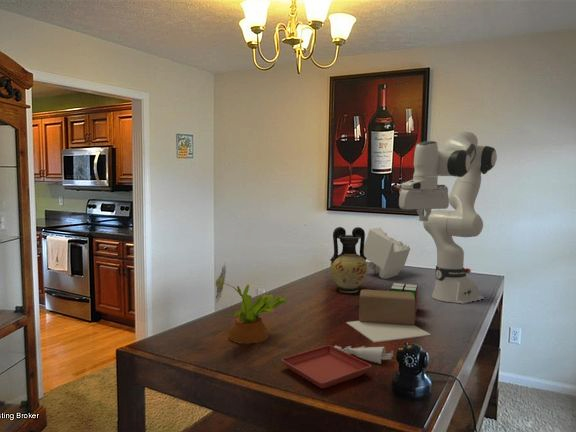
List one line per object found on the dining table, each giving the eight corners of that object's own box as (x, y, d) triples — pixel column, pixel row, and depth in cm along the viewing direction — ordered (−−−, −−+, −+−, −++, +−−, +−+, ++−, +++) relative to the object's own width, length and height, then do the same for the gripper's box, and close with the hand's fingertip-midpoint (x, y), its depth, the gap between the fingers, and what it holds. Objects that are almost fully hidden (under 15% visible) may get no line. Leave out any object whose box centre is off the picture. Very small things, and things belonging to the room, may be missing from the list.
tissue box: (378, 265, 259) (392, 225, 250) (400, 279, 248) (415, 238, 240) (355, 270, 245) (369, 228, 237) (378, 285, 235) (393, 242, 226)
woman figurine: (387, 355, 126) (326, 349, 133) (388, 371, 126) (327, 363, 134) (395, 341, 136) (338, 336, 144) (396, 356, 137) (339, 350, 144)
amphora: (356, 285, 223) (358, 224, 221) (373, 293, 207) (375, 228, 205) (323, 287, 218) (325, 225, 215) (338, 296, 202) (340, 229, 199)
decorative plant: (222, 323, 164) (222, 255, 161) (288, 325, 163) (289, 256, 161) (206, 353, 137) (206, 271, 134) (286, 355, 136) (287, 273, 134)
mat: (398, 317, 173) (398, 316, 173) (430, 335, 154) (431, 334, 154) (346, 323, 166) (346, 322, 166) (374, 342, 147) (374, 341, 147)
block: (416, 299, 161) (359, 295, 165) (415, 326, 162) (358, 322, 166) (413, 291, 171) (360, 288, 175) (412, 317, 172) (359, 313, 176)
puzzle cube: (417, 308, 185) (418, 284, 184) (415, 316, 176) (416, 290, 175) (392, 306, 188) (392, 282, 187) (389, 313, 179) (390, 288, 178)
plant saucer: (321, 395, 113) (321, 382, 112) (280, 369, 127) (280, 358, 127) (372, 377, 123) (372, 365, 123) (328, 355, 138) (329, 344, 137)
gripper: (442, 184, 177) (441, 219, 178) (397, 184, 170) (396, 220, 171) (453, 184, 171) (451, 221, 172) (407, 184, 164) (405, 222, 165)
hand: (423, 221), depth 172 cm, fingers closed
